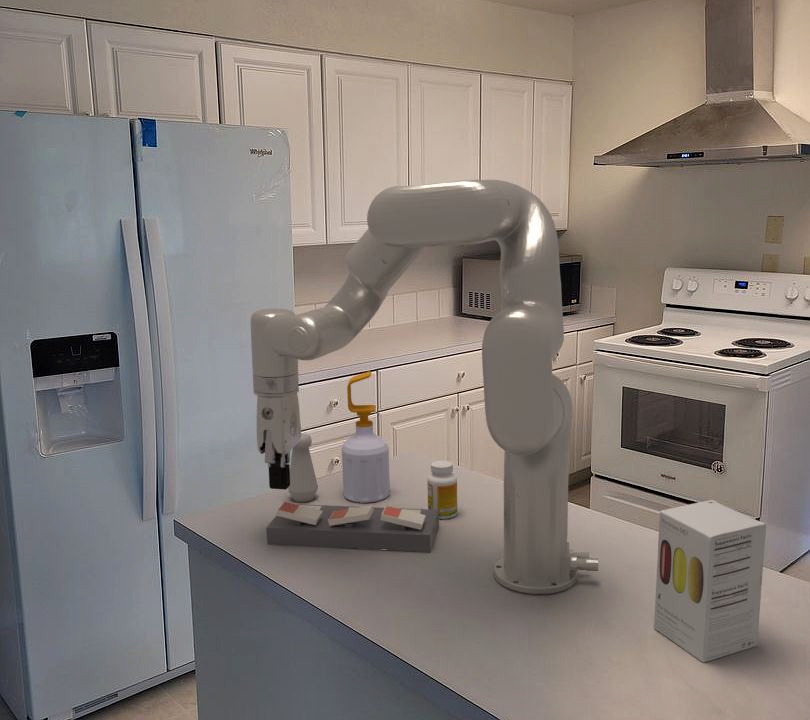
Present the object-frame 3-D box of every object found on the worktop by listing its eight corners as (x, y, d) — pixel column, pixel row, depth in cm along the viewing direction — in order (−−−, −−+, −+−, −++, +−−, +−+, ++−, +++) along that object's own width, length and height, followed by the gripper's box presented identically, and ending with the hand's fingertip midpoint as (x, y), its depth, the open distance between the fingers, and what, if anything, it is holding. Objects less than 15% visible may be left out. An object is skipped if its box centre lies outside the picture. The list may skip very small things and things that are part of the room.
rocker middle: (373, 510, 139) (372, 504, 139) (368, 519, 135) (367, 513, 135) (335, 516, 141) (333, 510, 140) (329, 525, 137) (327, 519, 136)
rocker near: (424, 520, 138) (425, 514, 138) (421, 529, 134) (422, 523, 134) (384, 510, 139) (385, 504, 139) (380, 519, 135) (381, 513, 135)
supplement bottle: (462, 511, 150) (462, 461, 148) (448, 521, 145) (447, 470, 144) (437, 506, 153) (436, 457, 151) (422, 516, 148) (421, 465, 146)
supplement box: (651, 628, 108) (656, 509, 105) (704, 613, 112) (710, 497, 109) (704, 664, 100) (711, 536, 96) (760, 646, 103) (768, 522, 100)
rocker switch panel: (439, 525, 144) (438, 506, 143) (430, 552, 133) (430, 531, 132) (287, 519, 148) (285, 500, 148) (267, 544, 138) (265, 523, 137)
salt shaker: (304, 491, 163) (301, 428, 160) (324, 497, 159) (321, 433, 156) (282, 499, 158) (278, 435, 156) (302, 506, 155) (299, 440, 152)
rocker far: (322, 516, 141) (323, 510, 141) (315, 525, 137) (316, 519, 137) (283, 506, 142) (284, 500, 142) (276, 515, 138) (277, 509, 138)
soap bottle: (389, 503, 155) (385, 377, 150) (341, 504, 155) (336, 378, 150) (390, 486, 164) (387, 367, 159) (345, 487, 164) (340, 368, 159)
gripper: (283, 395, 128) (287, 505, 131) (310, 374, 142) (313, 473, 146) (238, 393, 129) (243, 502, 133) (269, 372, 143) (273, 471, 147)
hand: (279, 487), depth 139 cm, fingers closed
